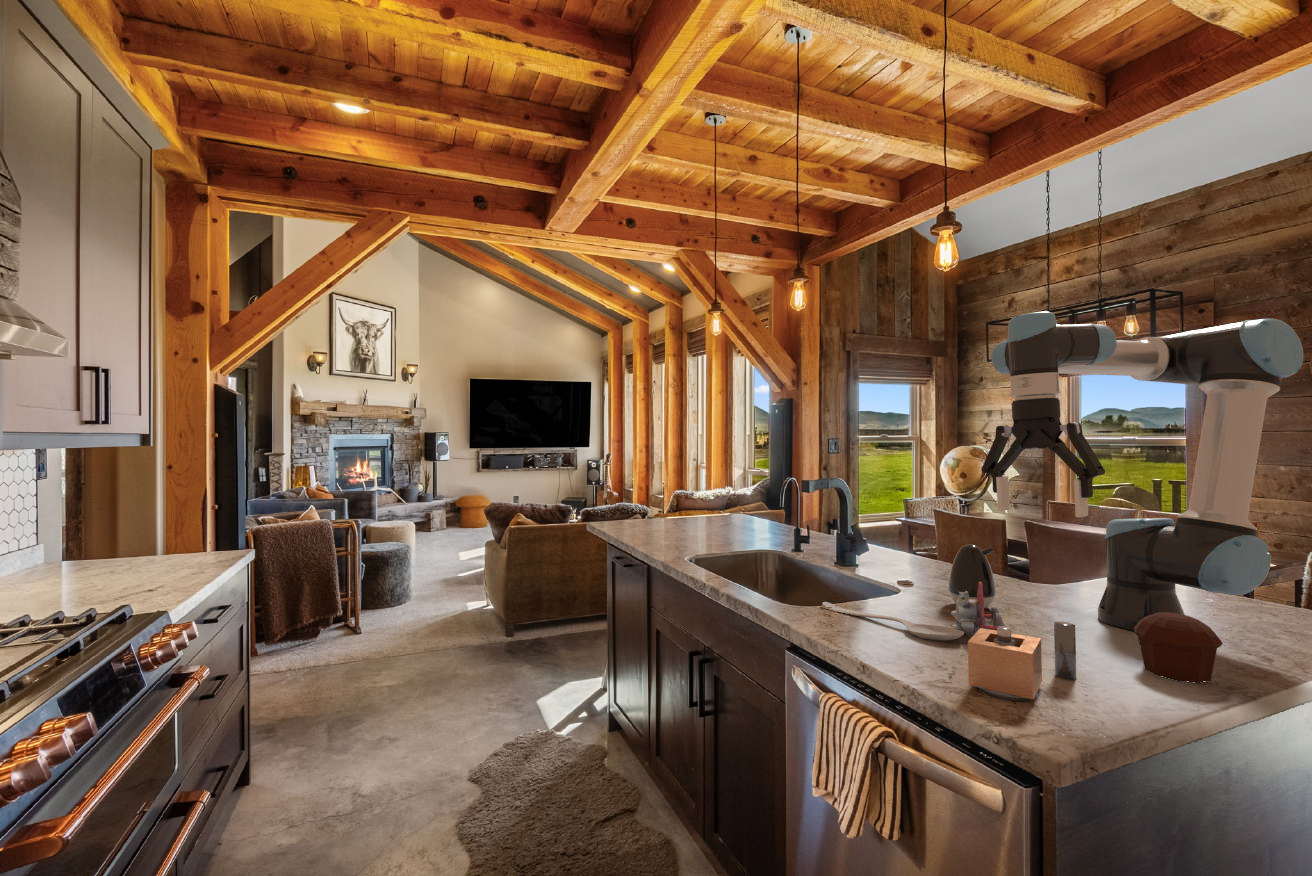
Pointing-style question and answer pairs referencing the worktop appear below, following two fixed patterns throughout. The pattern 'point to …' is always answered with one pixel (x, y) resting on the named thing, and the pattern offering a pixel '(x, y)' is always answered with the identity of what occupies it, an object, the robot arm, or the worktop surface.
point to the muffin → (1177, 646)
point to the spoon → (907, 625)
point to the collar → (1005, 664)
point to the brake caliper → (975, 614)
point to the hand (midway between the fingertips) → (1040, 513)
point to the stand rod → (1065, 650)
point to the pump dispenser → (972, 574)
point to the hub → (1005, 639)
